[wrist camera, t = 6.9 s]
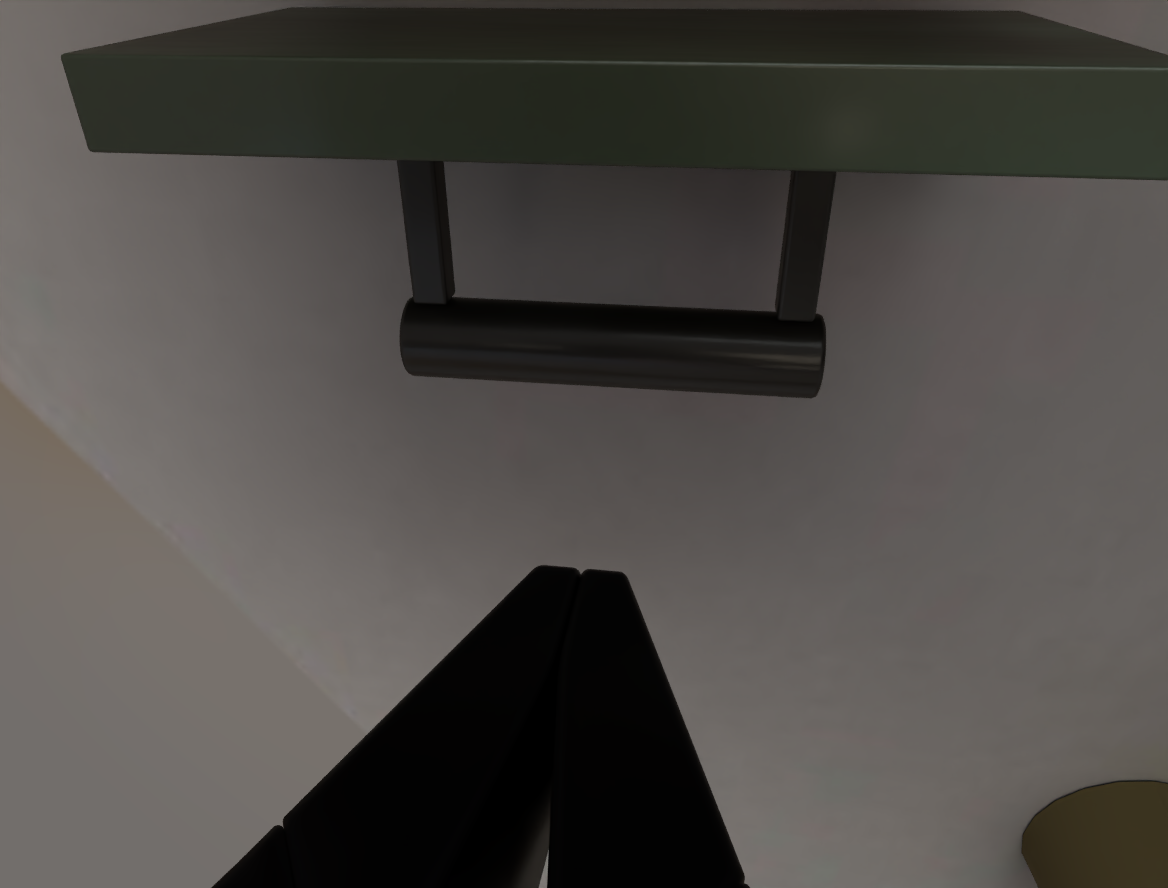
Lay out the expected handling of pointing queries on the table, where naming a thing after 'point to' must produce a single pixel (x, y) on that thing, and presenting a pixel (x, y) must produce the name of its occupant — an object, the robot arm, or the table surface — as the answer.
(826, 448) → the table surface
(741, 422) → the table surface
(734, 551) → the table surface
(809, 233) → the drawer
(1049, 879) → the brown rounded piece
